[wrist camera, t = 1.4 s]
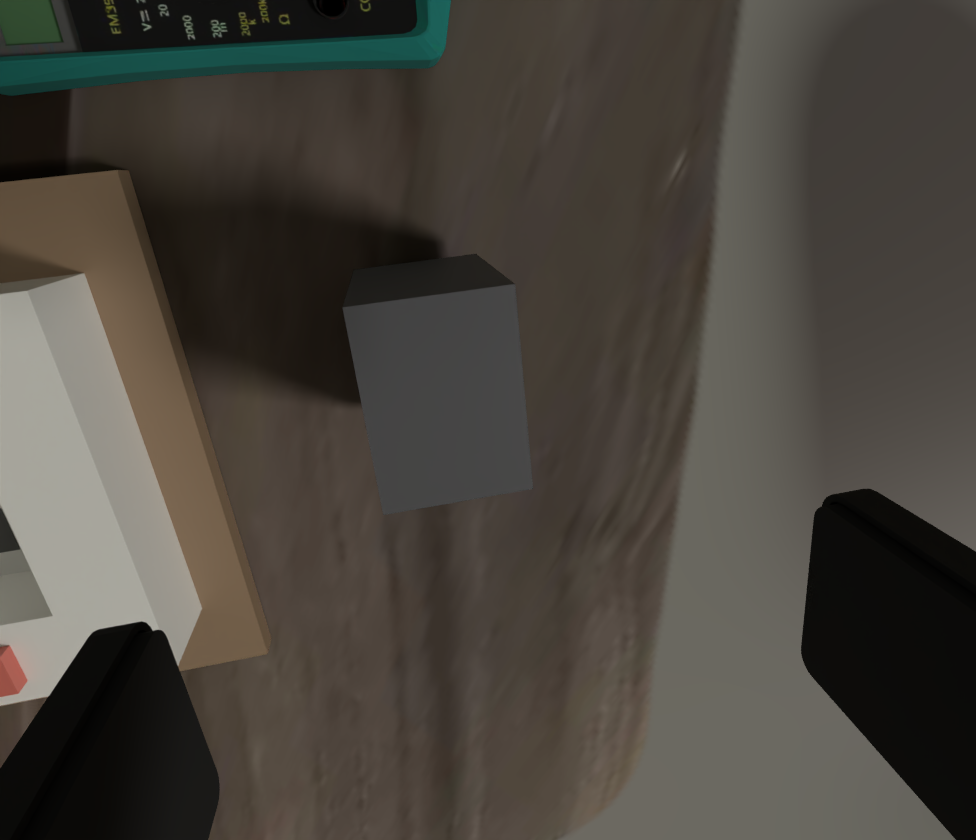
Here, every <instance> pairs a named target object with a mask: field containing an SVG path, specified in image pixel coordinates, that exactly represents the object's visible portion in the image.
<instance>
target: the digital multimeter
mask: <svg viewBox="0 0 976 840" xmlns="http://www.w3.org/2000/svg"><path fill="white" fill-rule="evenodd" d="M223 1H224V2H223ZM199 2H201V3H199ZM450 3H451V0H228V1H227V0H0V94H4V95H10V96H13V95H22V94H30V93H39V92H48V91H56V90H65V89H74V88H82V87H91V86H100V85H108V84H117V83H126V82H134V81H144V80H157V79H170V78H182V77H195V76H208V75H220V74H233V73H246V72H274V71H303V70H333V69H404V68H430V67H432V66H435V65H436V63H437V62H438V61H439V59H440V58H441V56H442V54H443V52H444V50H445V45H446V37H447V29H448V20H449V12H450ZM400 33H404V34H400ZM383 34H391V35H383ZM366 35H374V36H366ZM349 36H358V37H349ZM332 37H341V38H332ZM315 38H323V39H315ZM298 39H305V40H298ZM281 40H287V41H281ZM264 41H269V42H264ZM247 42H251V43H247ZM229 43H233V44H229ZM212 44H216V45H212ZM195 45H199V46H195ZM178 46H182V47H178ZM161 47H166V48H161ZM144 48H149V49H144ZM127 49H132V50H127ZM110 50H116V51H110ZM93 51H98V52H93Z"/></svg>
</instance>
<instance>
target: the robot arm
mask: <svg viewBox="0 0 976 840" xmlns="http://www.w3.org/2000/svg"><path fill="white" fill-rule="evenodd" d="M801 654H802V658H803V661H804V664H805V666H806V668H807V670H808V672H809V673H810V675H811V676H812V677H813V678H814V679H815V680H816V682H817V683H818V684H819V685H820V686H821V687H822V688H823V690H824V691H825V692H826V693H827V694H828V695H829V696H830V698H831V699H832V700H833V701H834V702H835V703H836V704H837V705H838V707H839V708H840V709H841V710H842V711H843V712H844V713H845V715H846V716H847V717H848V718H849V719H850V720H851V721H852V722H853V723H854V725H855V726H856V727H857V728H858V729H859V730H860V732H861V733H862V734H863V735H864V736H865V737H866V738H867V739H868V740H869V742H870V743H871V744H872V745H873V746H874V747H875V748H876V750H877V751H878V752H879V753H880V754H881V755H882V756H883V758H884V759H885V760H886V761H887V762H888V763H889V764H890V765H891V767H892V768H893V769H894V770H895V771H896V772H897V773H898V774H899V776H900V777H901V778H902V779H903V780H904V781H905V783H906V784H907V785H908V786H909V787H910V788H911V789H912V790H913V791H914V793H915V794H916V795H917V796H918V797H919V798H920V799H921V800H922V802H923V803H924V804H925V805H926V806H927V807H928V809H929V810H930V811H931V812H932V813H933V814H934V815H935V816H936V818H937V819H938V820H939V821H940V822H941V823H942V824H943V826H944V827H945V828H946V829H947V830H948V831H949V832H950V833H951V835H952V836H953V837H954V838H955V839H956V840H976V552H975V551H974V550H972V549H970V548H969V547H967V546H966V545H964V544H962V543H961V542H959V541H957V540H956V539H954V538H952V537H951V536H949V535H947V534H946V533H944V532H942V531H941V530H939V529H937V528H936V527H934V526H933V525H931V524H929V523H927V522H926V521H924V520H923V519H921V518H919V517H918V516H916V515H914V514H913V513H911V512H909V511H908V510H906V509H904V508H903V507H901V506H900V505H898V504H896V503H895V502H893V501H891V500H889V499H888V498H886V497H885V496H883V495H881V494H880V493H878V492H876V491H874V490H872V489H860V490H855V491H849V492H844V493H839V494H833V495H830V496H828V497H826V499H825V500H824V502H823V504H822V507H820V508H818V509H817V511H816V512H815V515H814V523H813V534H812V543H811V554H810V563H809V573H808V585H807V594H806V605H805V614H804V625H803V635H802V645H801ZM218 800H219V777H218V773H217V770H216V767H215V764H214V762H213V759H212V756H211V754H210V751H209V748H208V746H207V743H206V740H205V737H204V735H203V732H202V729H201V727H200V724H199V721H198V719H197V716H196V713H195V711H194V708H193V705H192V703H191V700H190V697H189V695H188V692H187V689H186V687H185V684H184V681H183V679H182V676H181V673H180V671H179V668H178V665H177V662H176V660H175V657H174V654H173V652H172V649H171V646H170V644H169V641H168V638H167V636H166V634H165V633H164V632H163V631H162V630H154V631H153V630H152V629H151V627H150V626H149V625H148V624H147V623H146V622H142V621H141V622H135V623H130V624H125V625H119V626H114V627H108V628H103V629H98V630H96V631H94V632H93V633H92V634H91V635H90V636H89V637H88V638H87V640H86V641H85V643H84V644H83V646H82V647H81V649H80V650H79V652H78V653H77V655H76V656H75V658H74V659H73V661H72V662H71V664H70V665H69V667H68V668H67V670H66V671H65V673H64V674H63V676H62V677H61V679H60V680H59V682H58V683H57V685H56V686H55V688H54V689H53V691H52V692H51V694H50V695H49V697H48V698H47V700H46V701H45V703H44V704H43V706H42V707H41V709H40V710H39V712H38V713H37V715H36V716H35V718H34V719H33V721H32V722H31V724H30V725H29V727H28V728H27V730H26V731H25V733H24V734H23V736H22V737H21V739H20V740H19V742H18V743H17V744H16V746H15V747H14V749H13V750H12V752H11V753H10V755H9V756H8V758H7V759H6V761H5V762H4V764H3V765H2V767H1V768H0V840H208V838H209V834H210V831H211V827H212V823H213V820H214V816H215V812H216V809H217V805H218Z"/></svg>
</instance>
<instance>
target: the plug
mask: <svg viewBox="0 0 976 840" xmlns="http://www.w3.org/2000/svg"><path fill="white" fill-rule="evenodd" d="M342 308H343V313H344V318H345V323H346V328H347V333H348V338H349V343H350V348H351V353H352V358H353V363H354V368H355V374H356V379H357V384H358V389H359V394H360V399H361V404H362V409H363V414H364V419H365V424H366V429H367V434H368V439H369V445H370V450H371V455H372V460H373V465H374V470H375V475H376V480H377V485H378V490H379V495H380V500H381V505H382V510H383V515H386V514H391V513H397V512H403V511H409V510H414V509H420V508H426V507H432V506H437V505H443V504H449V503H454V502H460V501H466V500H472V499H477V498H483V497H489V496H494V495H500V494H506V493H512V492H517V491H523V490H529V489H533V483H532V472H531V460H530V449H529V438H528V426H527V415H526V403H525V392H524V381H523V369H522V358H521V346H520V335H519V324H518V312H517V301H516V289H515V284H514V283H513V282H512V281H510V280H509V279H508V278H507V277H505V276H504V275H503V274H501V273H500V272H499V271H497V270H496V269H495V268H494V267H492V266H491V265H490V264H488V263H487V262H486V261H485V260H483V259H482V258H481V257H479V256H478V255H477V254H471V255H464V256H456V257H448V258H441V259H433V260H425V261H417V262H410V263H402V264H394V265H386V266H379V267H371V268H363V269H356V270H354V271H353V274H352V277H351V281H350V284H349V287H348V291H347V294H346V297H345V301H344V304H343V307H342Z"/></svg>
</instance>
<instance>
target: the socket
mask: <svg viewBox="0 0 976 840" xmlns="http://www.w3.org/2000/svg"><path fill="white" fill-rule="evenodd" d="M141 621H142V622H146V623H147V624H148V625H149V626H150V627H151V629H152V630H153V631H154V630H162V631H163V632H164V633H165V634H166V636H167V638H168V641H169V644H170V646H171V649H172V652H173V654H174V657H175V660H176V662H177V665H178V668H179V671H183V670H188V669H193V668H199V667H204V666H209V665H214V664H219V663H224V662H229V661H234V660H239V659H245V658H250V657H255V656H260V655H265V654H268V651H269V647H270V642H271V635H270V632H269V629H268V626H267V622H266V619H265V616H264V612H263V609H262V606H261V603H260V599H259V596H258V593H257V589H256V586H255V583H254V580H253V576H252V573H251V570H250V567H249V563H248V560H247V557H246V553H245V550H244V547H243V544H242V540H241V537H240V534H239V530H238V527H237V524H236V521H235V517H234V514H233V511H232V508H231V504H230V501H229V498H228V494H227V491H226V488H225V485H224V481H223V478H222V475H221V471H220V468H219V465H218V462H217V458H216V455H215V452H214V448H213V445H212V442H211V439H210V435H209V432H208V429H207V426H206V422H205V419H204V416H203V412H202V409H201V406H200V403H199V399H198V396H197V393H196V389H195V386H194V383H193V380H192V376H191V373H190V370H189V367H188V363H187V360H186V357H185V353H184V350H183V347H182V344H181V340H180V337H179V334H178V330H177V327H176V324H175V321H174V317H173V314H172V311H171V308H170V304H169V301H168V298H167V294H166V291H165V288H164V285H163V281H162V278H161V275H160V271H159V268H158V265H157V262H156V258H155V255H154V252H153V248H152V245H151V242H150V239H149V235H148V232H147V229H146V226H145V222H144V219H143V216H142V212H141V209H140V206H139V203H138V199H137V196H136V193H135V189H134V186H133V183H132V180H131V176H130V173H129V170H112V171H103V172H94V173H84V174H75V175H66V176H56V177H47V178H38V179H28V180H19V181H10V182H0V706H5V705H10V704H15V703H20V702H25V701H30V700H35V699H40V698H45V697H49V695H50V694H51V692H52V691H53V689H54V688H55V686H56V685H57V683H58V682H59V680H60V679H61V677H62V676H63V674H64V673H65V671H66V670H67V668H68V667H69V665H70V664H71V662H72V661H73V659H74V658H75V656H76V655H77V653H78V652H79V650H80V649H81V647H82V646H83V644H84V643H85V641H86V640H87V638H88V637H89V636H90V635H91V634H92V633H93V632H94V631H96V630H98V629H103V628H108V627H114V626H119V625H125V624H130V623H135V622H141Z"/></svg>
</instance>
